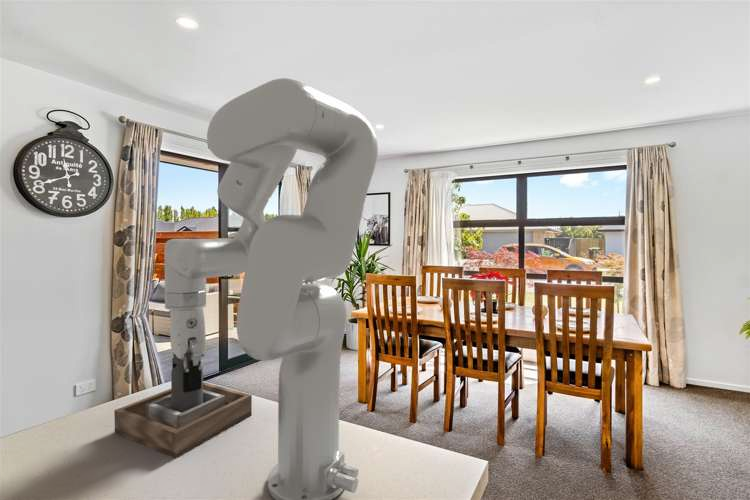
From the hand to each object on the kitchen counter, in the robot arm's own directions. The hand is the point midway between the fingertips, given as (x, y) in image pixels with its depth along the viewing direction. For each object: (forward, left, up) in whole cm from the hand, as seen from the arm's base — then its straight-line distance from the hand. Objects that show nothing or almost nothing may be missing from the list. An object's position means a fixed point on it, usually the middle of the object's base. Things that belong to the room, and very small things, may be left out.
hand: (186, 382), depth 79 cm
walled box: (0, 0, -9) cm, 9 cm away
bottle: (0, 0, -8) cm, 8 cm away
